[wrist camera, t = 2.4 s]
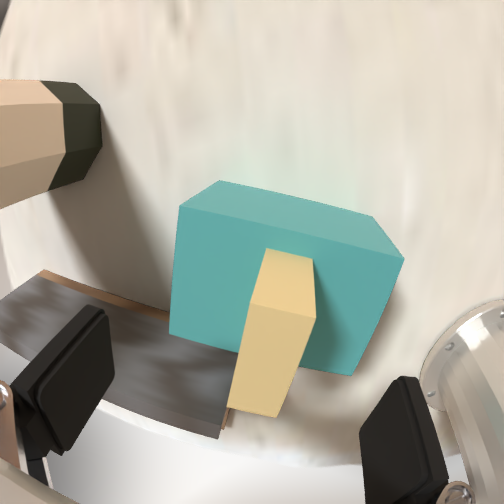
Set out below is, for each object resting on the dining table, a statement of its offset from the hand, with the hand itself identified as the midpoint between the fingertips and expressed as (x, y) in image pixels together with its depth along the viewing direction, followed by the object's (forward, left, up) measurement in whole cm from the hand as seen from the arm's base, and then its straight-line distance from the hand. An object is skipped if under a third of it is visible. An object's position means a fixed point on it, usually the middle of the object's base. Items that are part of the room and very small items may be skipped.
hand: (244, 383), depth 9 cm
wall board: (+6, +16, -12) cm, 21 cm away
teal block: (-1, 0, -13) cm, 13 cm away
